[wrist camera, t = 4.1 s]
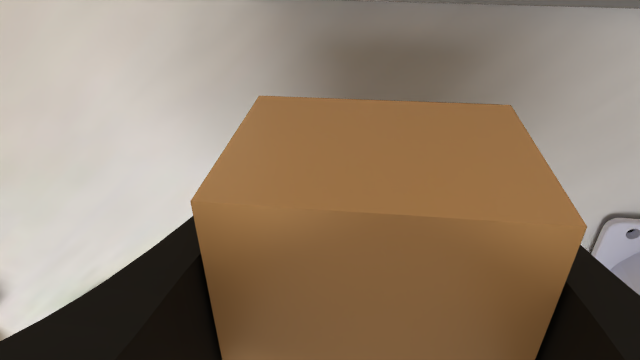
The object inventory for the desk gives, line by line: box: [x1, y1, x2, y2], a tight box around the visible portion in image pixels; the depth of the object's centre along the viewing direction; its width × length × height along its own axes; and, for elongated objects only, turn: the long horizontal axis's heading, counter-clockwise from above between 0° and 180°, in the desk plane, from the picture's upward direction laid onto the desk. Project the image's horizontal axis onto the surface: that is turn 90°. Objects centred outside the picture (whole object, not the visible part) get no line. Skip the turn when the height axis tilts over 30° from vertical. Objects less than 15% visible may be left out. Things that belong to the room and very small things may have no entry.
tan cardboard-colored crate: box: [191, 96, 587, 360], centre depth 9 cm, size 5×5×4 cm
